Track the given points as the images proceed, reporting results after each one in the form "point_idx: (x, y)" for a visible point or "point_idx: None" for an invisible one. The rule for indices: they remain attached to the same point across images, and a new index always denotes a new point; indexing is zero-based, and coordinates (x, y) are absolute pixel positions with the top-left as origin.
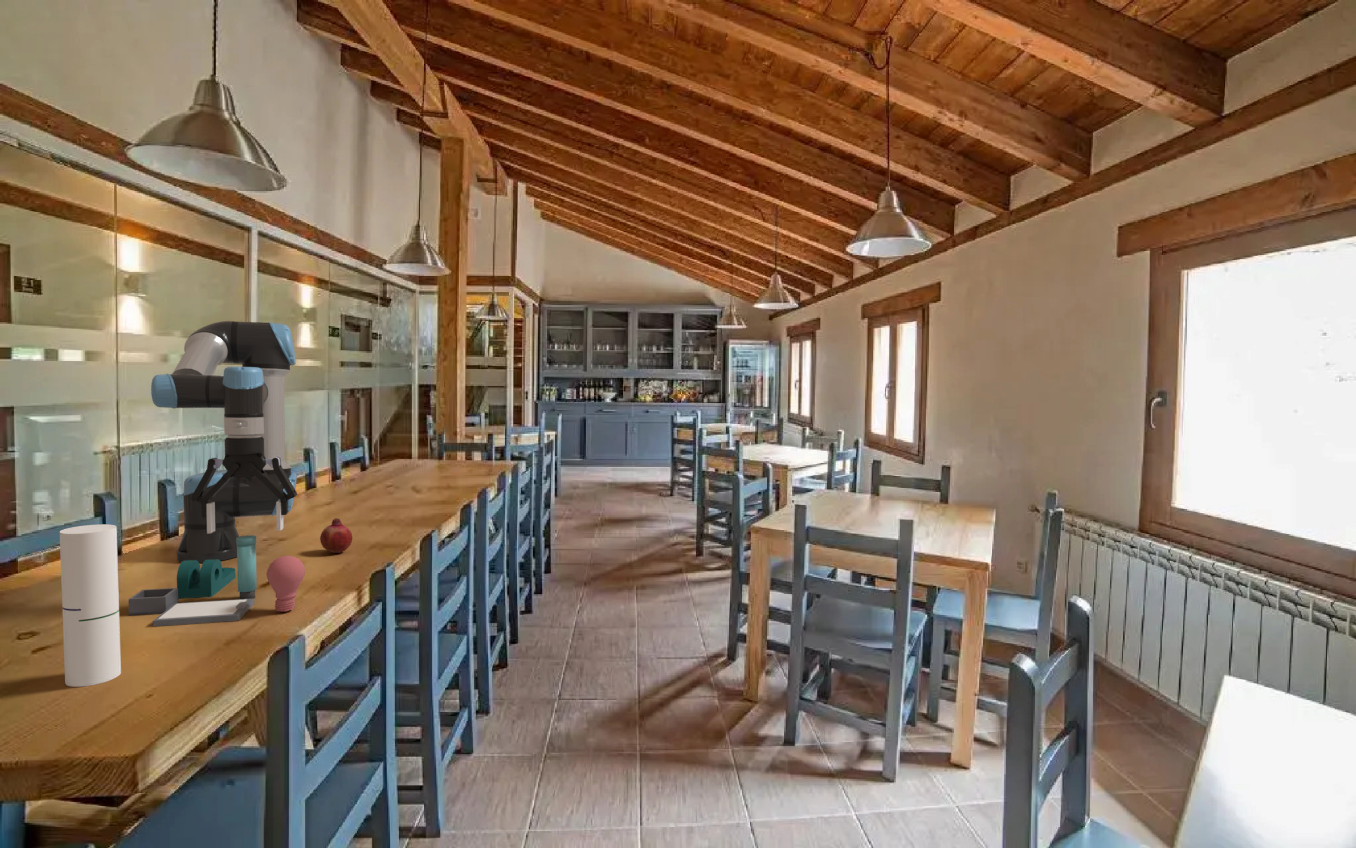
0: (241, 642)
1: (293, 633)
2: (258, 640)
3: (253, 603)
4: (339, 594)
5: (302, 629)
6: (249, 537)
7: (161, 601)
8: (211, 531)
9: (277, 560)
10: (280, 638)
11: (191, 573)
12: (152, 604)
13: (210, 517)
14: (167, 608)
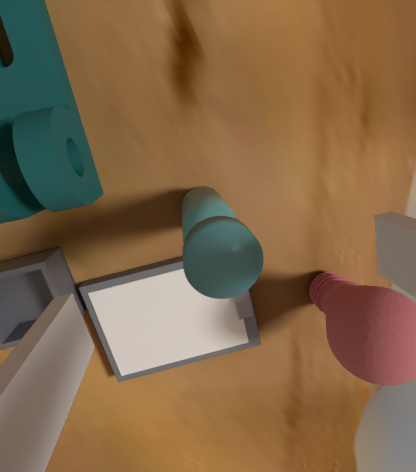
0: (309, 417)
1: None
2: (331, 408)
3: None
4: (403, 164)
5: None
6: (240, 266)
7: None
8: (90, 347)
9: (386, 380)
10: (361, 399)
11: (14, 195)
12: None
13: (65, 413)
14: (80, 305)
